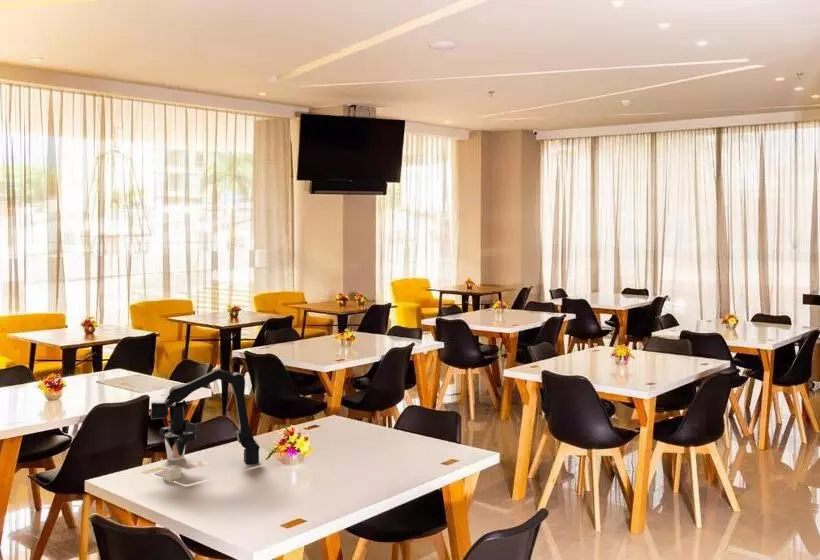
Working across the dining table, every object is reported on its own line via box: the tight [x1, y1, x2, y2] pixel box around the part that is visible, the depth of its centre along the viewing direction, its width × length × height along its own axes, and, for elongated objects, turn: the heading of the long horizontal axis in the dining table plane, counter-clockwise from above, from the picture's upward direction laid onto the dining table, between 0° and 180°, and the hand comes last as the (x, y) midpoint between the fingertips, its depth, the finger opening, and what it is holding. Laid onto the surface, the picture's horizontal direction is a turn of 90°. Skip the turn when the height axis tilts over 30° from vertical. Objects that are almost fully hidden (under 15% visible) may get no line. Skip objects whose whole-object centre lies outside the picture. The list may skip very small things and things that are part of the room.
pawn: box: [173, 443, 183, 458], centre depth 336 cm, size 4×4×6 cm
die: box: [162, 464, 182, 483], centre depth 326 cm, size 5×5×5 cm
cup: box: [164, 432, 186, 462], centre depth 353 cm, size 9×9×12 cm
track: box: [154, 460, 210, 478], centre depth 339 cm, size 23×6×1 cm, turn 138°
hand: (177, 454), depth 336 cm, fingers closed on pawn, 4 cm apart
